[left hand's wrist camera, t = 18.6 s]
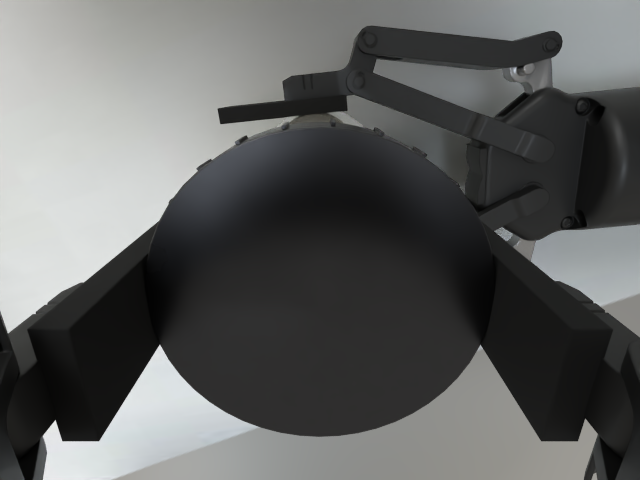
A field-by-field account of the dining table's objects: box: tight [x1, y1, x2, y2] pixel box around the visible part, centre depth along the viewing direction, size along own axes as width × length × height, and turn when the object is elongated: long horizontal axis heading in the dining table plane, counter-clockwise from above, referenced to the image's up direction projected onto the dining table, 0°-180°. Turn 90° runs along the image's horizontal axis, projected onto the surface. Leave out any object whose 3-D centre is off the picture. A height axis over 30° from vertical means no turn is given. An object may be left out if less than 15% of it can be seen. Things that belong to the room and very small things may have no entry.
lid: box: [145, 119, 495, 437], centre depth 11 cm, size 9×9×2 cm
